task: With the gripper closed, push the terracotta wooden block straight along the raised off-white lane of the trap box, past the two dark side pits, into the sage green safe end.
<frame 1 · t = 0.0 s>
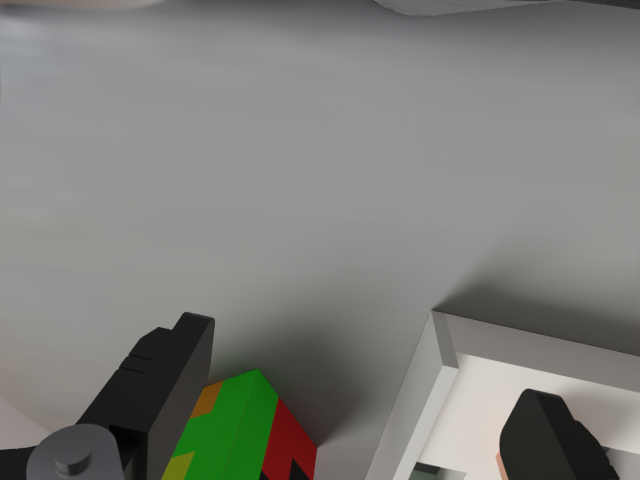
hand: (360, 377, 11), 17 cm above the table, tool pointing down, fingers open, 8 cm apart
puzzle toy: (240, 422, 38), on the table
trap box: (494, 444, 36), on the table
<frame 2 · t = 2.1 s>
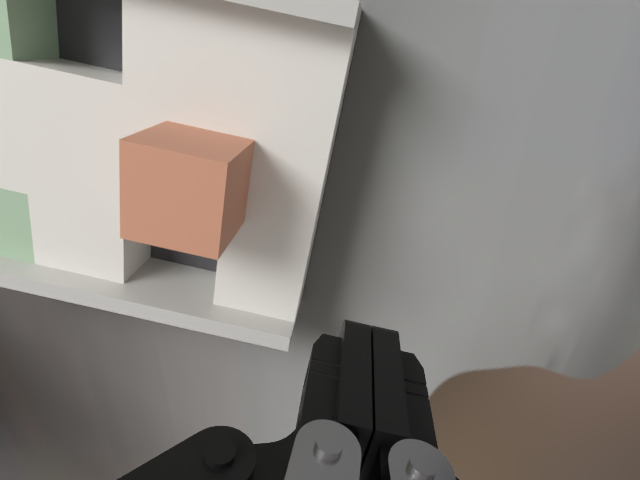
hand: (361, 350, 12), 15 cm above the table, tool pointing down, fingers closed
block: (207, 173, 22), point 4 cm above the table, touching trap box
trap box: (141, 135, 26), on the table
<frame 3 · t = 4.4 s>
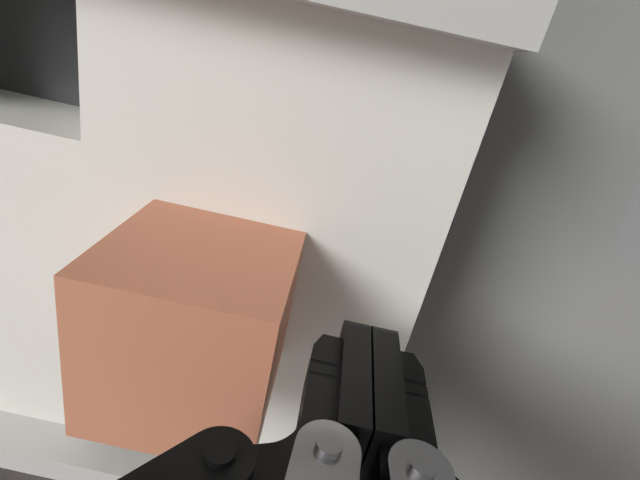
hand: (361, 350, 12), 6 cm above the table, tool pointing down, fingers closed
block: (222, 281, 13), point 4 cm above the table, touching gripper
trap box: (119, 201, 17), on the table
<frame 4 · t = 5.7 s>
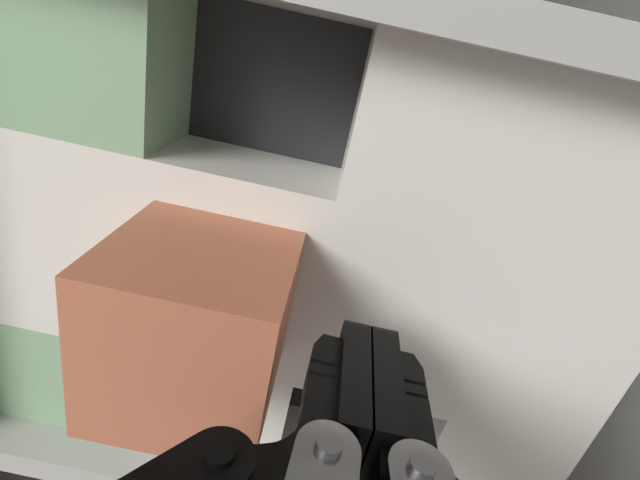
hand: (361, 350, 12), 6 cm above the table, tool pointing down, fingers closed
block: (222, 282, 13), point 4 cm above the table, touching gripper
trap box: (297, 243, 17), on the table
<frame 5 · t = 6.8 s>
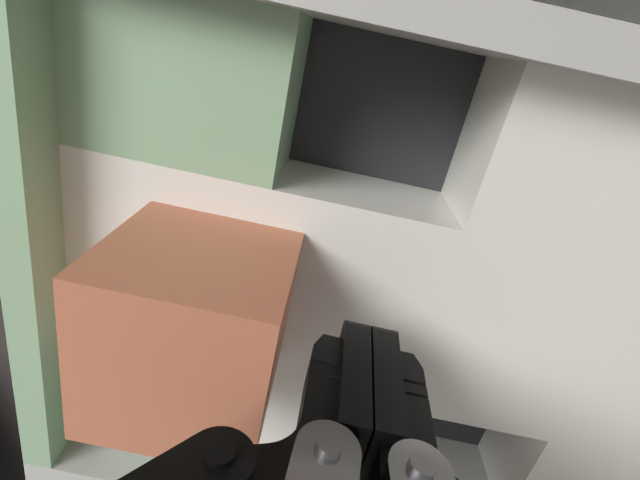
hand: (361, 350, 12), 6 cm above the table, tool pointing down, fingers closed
block: (220, 282, 13), point 4 cm above the table, touching gripper, trap box
trap box: (386, 264, 17), on the table
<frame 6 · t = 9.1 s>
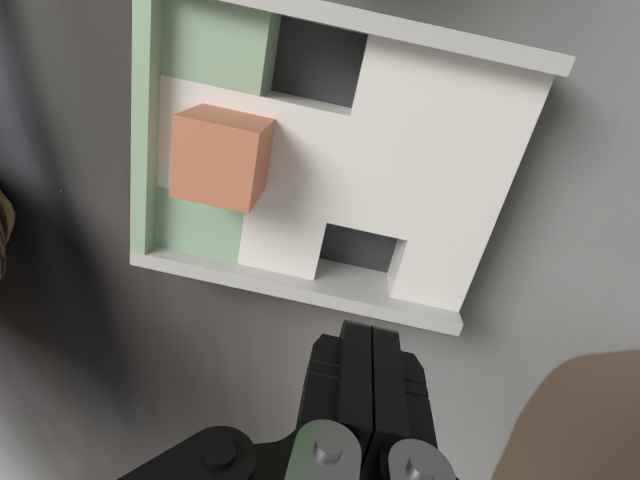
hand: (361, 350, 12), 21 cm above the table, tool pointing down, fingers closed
block: (234, 147, 27), point 4 cm above the table, touching trap box
trap box: (326, 154, 31), on the table
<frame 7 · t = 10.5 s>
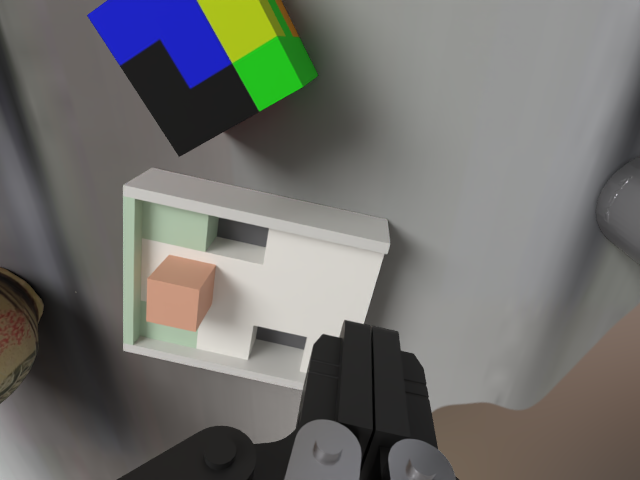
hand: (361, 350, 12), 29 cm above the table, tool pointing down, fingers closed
block: (191, 279, 41), point 4 cm above the table, touching trap box
puzzle toy: (238, 48, 36), on the table
ceramic jug: (13, 302, 50), on the table
trap box: (257, 273, 45), on the table
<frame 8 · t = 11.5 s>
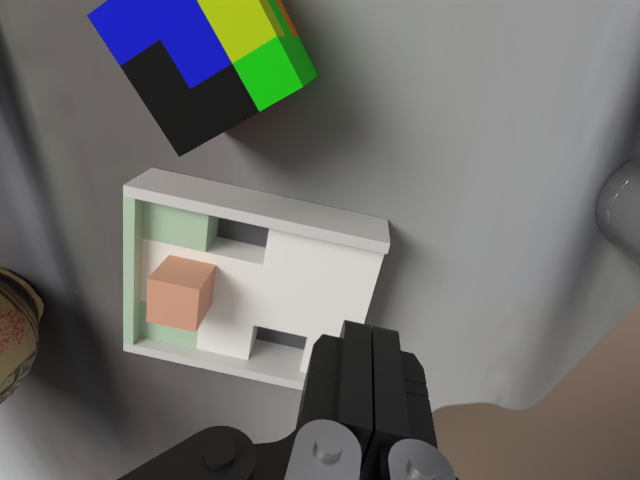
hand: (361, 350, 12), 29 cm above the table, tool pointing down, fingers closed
block: (191, 280, 41), point 4 cm above the table, touching trap box
puzzle toy: (238, 48, 37), on the table
ceramic jug: (13, 302, 50), on the table
trap box: (257, 273, 45), on the table
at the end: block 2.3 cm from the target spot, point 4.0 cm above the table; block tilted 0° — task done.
